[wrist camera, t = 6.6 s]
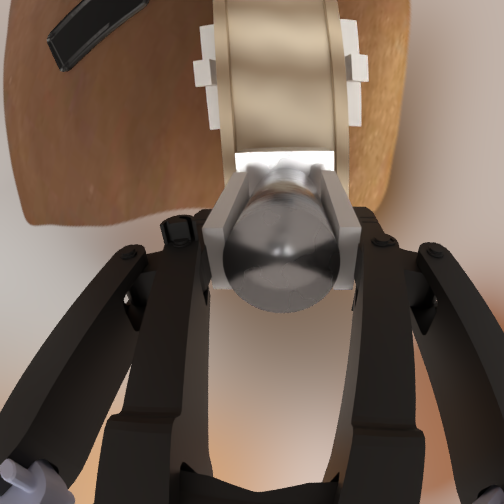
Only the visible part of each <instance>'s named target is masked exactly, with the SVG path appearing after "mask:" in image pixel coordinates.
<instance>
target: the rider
mask: <svg viewBox="0 0 504 504" xmlns="http://www.w3.org/2000/svg"><path fill="white" fill-rule="evenodd" d="M235 159H236V172H248V183H249V194H250V198H249V200H248V202H247V204H246V205H245V207H244V209H243V211H242V213H241V214H240V216H239V218H238V220H237V222H236V224H235V225H234V227H233V229H232V231H231V233H230V234H229V236H228V238H227V241H226V243H225V246H224V250H223V268H224V272H225V275H226V278H227V280H228V282H229V284H230V286H231V287H232V289H233V290H234V291H235V292H236V293H237V295H238V296H240V297H241V298H242V299H243V300H245V301H246V302H247V303H249V304H250V305H252V306H254V307H256V308H259V309H261V310H265V311H268V312H274V313H291V312H297V311H300V310H304V309H306V308H309V307H310V306H313V305H314V304H316V303H317V302H319V301H320V300H322V299H323V298H324V297H325V296H326V295H327V294H328V292H329V291H330V290H331V289H332V287H333V286H334V284H335V282H336V280H337V277H338V274H339V270H340V252H339V248H338V244H337V242H336V239H335V236H334V233H333V231H332V228H331V225H330V223H329V220H328V217H327V215H326V212H325V210H324V207H323V204H322V202H321V170H331V171H334V151H332V150H330V149H328V148H327V147H272V148H249V149H243V150H241V151H239V152H237V153H235Z"/></svg>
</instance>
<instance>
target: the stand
mask: <svg viewBox="0 0 504 504" xmlns="http://www.w3.org/2000/svg"><path fill="white" fill-rule="evenodd" d="M340 23H341V30H342V39H343V47H344V57H345V68H346V81H347V96H348V118H349V126H361V82H369V76H368V56H367V55H360V54H359V43H358V31H357V21H356V20H346V19H340ZM200 36H201V47H202V58H203V60H198V61H193V66H194V76H195V85H196V87H206V97H207V106H208V115H209V124H210V130H213V129H220V119H219V105H218V90H217V74H216V57H215V39H214V24H212V25H206V26H201V27H200Z"/></svg>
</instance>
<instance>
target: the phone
mask: <svg viewBox="0 0 504 504" xmlns="http://www.w3.org/2000/svg"><path fill="white" fill-rule="evenodd" d="M148 2H149V0H82V1H81V2H80V3H79V4H78V5H77V6H76V7H75V8H74V9H73V10H72V11H71V12H69V13H68V14H67V15H66V16H65V17H64V19H63V20H62V21H61V22H60V23H59V24H58V25H57V26H56V27H55V28H54V29H53V30H52V31H51V32H50V34H49V35H48V38H47V43H48V46H49V48H50V50H51V52H52V55H53V57H54V59H55V61H56V63H57V65H58V67H59V69H60V71H62V72H65V71H69V70H71V69H72V68H73V67H74V66H75V65H76V64H77V63H78V62H79V61H80V60H81V59H82V58H83V57H84V56H85V55H86V54H87V53H88V52H89V51H91V49H92V48H94V47H95V46H96V45H97V44H98V43H99V42H100V41H102V40H103V39H104V38H105V37H106V36H107V35H109V34H110V33H111V32H112V31H114V30H115V29H116V28H117V27H119V26H120V25H121V24H122V23H124V22H125V21H126V20H128V19H129V18H130V17H132V16H133V15H134V14H136V13H137V12H139V11H140V10H141V9H143V8H144V7H145V6H147V4H148Z"/></svg>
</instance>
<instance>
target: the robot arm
mask: <svg viewBox="0 0 504 504" xmlns="http://www.w3.org/2000/svg"><path fill="white" fill-rule="evenodd" d="M249 198H250V194H249V183H248V172H234V173H233V175H232V176H231V178H230V180H229V181H228V183H227V185H226V186H225V188H224V190H223V192H222V193H221V195H220V197H219V199H218V200H217V202H216V204H215V206H214V207H213V209H202V210H201V211H199V212H198V213H196V214H195V215H194V217H193V216H191V215H177V216H173V217H170V218H168V219H166V220H164V221H163V222H162V223H161V224H160V228H161V232H162V236H163V239H164V243H165V245H164V249H163V251H160V252H155V253H150V254H146V251H145V248H144V247H143V246H142V245H138V244H136V245H128V246H125V247H124V248H122V249H120V250H119V251H117V252H116V253H115V254H114V255H113V256H112V258H111V259H110V260H109V261H108V262H107V263H106V265H105V266H104V267H103V268H102V269H101V270H100V271H99V273H98V274H97V275H96V276H95V278H94V279H93V280H92V281H91V282H90V283H89V285H88V286H87V287H86V288H85V290H84V291H83V292H82V293H81V294H80V296H79V297H78V298H77V299H76V301H75V302H74V303H73V305H72V306H71V307H70V308H69V310H68V311H67V312H66V314H65V315H64V316H63V318H62V319H61V320H60V322H59V323H58V324H57V326H56V327H55V328H54V330H53V331H52V332H51V334H50V335H49V337H48V338H47V339H46V341H45V342H44V344H43V345H42V346H41V348H40V350H39V351H38V352H37V354H36V355H35V357H34V358H33V360H32V361H31V363H30V365H29V366H28V367H27V369H26V370H25V372H24V373H23V375H22V377H21V378H20V380H19V381H18V383H17V385H16V387H15V388H14V390H13V391H12V393H11V395H10V396H9V398H8V400H7V401H6V403H5V405H4V407H3V409H2V411H1V412H0V504H74V503H75V498H74V496H73V494H72V493H71V492H70V491H68V489H69V488H70V486H71V485H72V484H73V483H74V481H75V480H76V479H77V477H78V475H79V474H80V472H81V471H82V469H83V467H84V465H85V463H86V461H87V459H88V456H89V454H90V452H91V449H92V447H93V445H94V442H95V440H96V438H97V435H98V433H99V431H100V429H101V427H102V424H103V422H104V420H105V418H106V415H107V413H108V411H109V409H110V407H111V405H112V403H113V401H114V398H115V396H116V394H117V392H118V390H119V388H120V386H121V384H122V382H123V380H124V378H125V376H126V374H127V372H128V370H129V368H130V366H131V369H130V374H129V379H128V383H127V388H126V394H125V398H124V404H123V408H122V411H121V412H120V413H119V414H114V415H111V416H110V418H109V419H108V420H107V423H106V426H105V429H104V435H103V440H102V446H101V453H100V459H99V466H98V473H97V481H96V490H95V500H94V504H419V502H420V496H421V489H422V481H423V472H424V459H425V437H424V434H423V431H421V430H419V429H418V428H417V427H416V423H415V410H416V408H415V406H416V404H415V403H416V393H415V363H414V348H413V336H412V331H413V333H414V336H415V339H416V341H417V344H418V346H419V349H420V352H421V355H422V358H423V360H424V364H425V366H426V369H427V372H428V375H429V379H430V382H431V385H432V388H433V391H434V395H435V398H436V401H437V405H438V408H439V412H440V416H441V419H442V423H443V427H444V431H445V436H446V440H447V444H448V449H449V454H450V459H451V464H452V469H453V475H454V480H455V484H456V489H457V493H458V496H459V499H460V502H461V504H504V332H503V331H502V329H501V327H500V325H499V324H498V322H497V320H496V319H495V317H494V315H493V314H492V312H491V310H490V309H489V307H488V305H487V304H486V302H485V301H484V299H483V298H482V296H481V295H480V293H479V292H478V290H477V289H476V288H475V286H474V284H473V283H472V281H471V280H470V279H469V277H468V276H467V274H466V273H465V271H464V270H463V269H462V267H461V266H460V265H459V263H458V262H457V261H456V259H455V258H454V257H453V255H452V254H451V253H450V251H448V250H447V249H446V248H445V247H443V246H442V245H440V244H437V243H434V242H433V243H430V242H427V243H423V244H421V245H420V247H419V250H418V253H417V252H412V251H407V250H403V249H401V248H399V244H398V242H397V240H396V239H395V238H394V237H392V236H390V235H388V234H385V233H384V231H383V230H382V228H381V226H380V224H379V223H378V220H377V219H376V217H375V215H374V213H373V212H372V211H371V210H369V209H368V208H367V207H352V205H351V203H350V201H349V199H348V196H347V194H346V192H345V190H344V188H343V186H342V184H341V182H340V180H339V178H338V176H337V174H336V172H335V171H331V170H321V202H322V204H323V207H324V210H325V212H326V215H327V217H328V220H329V223H330V225H331V228H332V231H333V233H334V236H335V239H336V242H337V244H338V248H339V252H340V270H339V274H338V277H337V280H336V282H335V284H334V286H333V289H334V290H352V289H353V284H354V279H355V283H356V290H355V295H354V300H353V306H352V311H353V319H352V329H351V340H350V349H349V356H348V364H347V371H346V378H345V386H344V391H343V398H342V404H341V409H340V415H339V420H338V425H337V430H336V435H335V439H334V444H333V449H332V454H331V457H330V460H329V463H328V467H327V469H326V472H325V475H324V478H323V482H321V483H306V484H302V485H297V486H292V487H287V488H282V489H277V490H271V491H265V492H253V491H250V490H247V489H244V488H241V487H238V486H235V485H232V484H229V483H227V482H224V481H221V480H219V479H216V478H214V477H213V470H212V465H211V461H210V457H209V449H208V356H209V318H210V291H209V287H208V285H209V282H210V280H212V285H213V288H214V289H232V287H231V286H230V284H229V282H228V280H227V278H226V275H225V272H224V268H223V250H224V246H225V243H226V241H227V238H228V236H229V234H230V233H231V231H232V229H233V227H234V225H235V224H236V222H237V220H238V218H239V216H240V214H241V213H242V211H243V209H244V207H245V205H246V204H247V202H248V200H249ZM126 294H127V296H128V298H129V300H128V302H127V303H126V304H125V303H124V297H125V295H126ZM436 300H437V301H436ZM131 364H132V365H131Z"/></svg>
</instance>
